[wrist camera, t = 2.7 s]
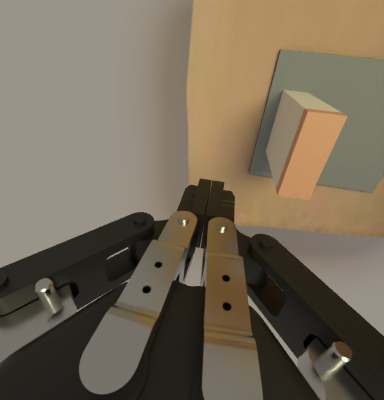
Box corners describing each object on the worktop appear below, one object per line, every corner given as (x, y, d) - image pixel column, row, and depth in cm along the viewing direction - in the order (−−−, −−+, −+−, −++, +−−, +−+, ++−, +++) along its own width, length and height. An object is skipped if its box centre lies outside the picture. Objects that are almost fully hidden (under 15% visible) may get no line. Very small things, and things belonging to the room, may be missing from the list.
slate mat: (450, 66, 24) (454, 66, 23) (370, 191, 33) (371, 192, 33) (280, 49, 26) (280, 49, 25) (248, 172, 35) (248, 173, 34)
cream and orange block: (308, 92, 27) (347, 116, 17) (287, 153, 32) (308, 200, 22) (283, 89, 27) (307, 111, 18) (265, 151, 32) (277, 195, 22)
